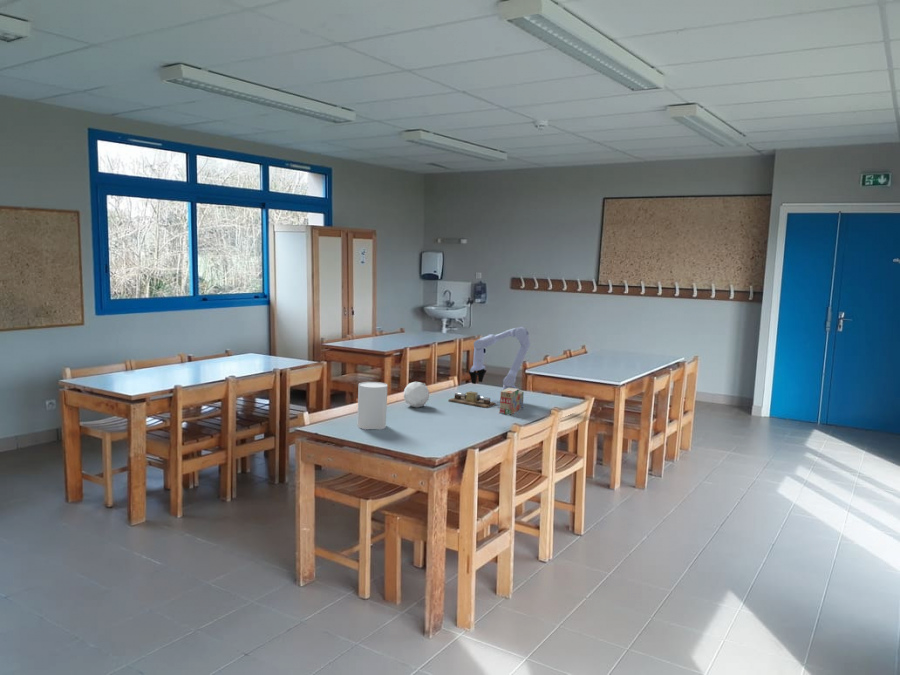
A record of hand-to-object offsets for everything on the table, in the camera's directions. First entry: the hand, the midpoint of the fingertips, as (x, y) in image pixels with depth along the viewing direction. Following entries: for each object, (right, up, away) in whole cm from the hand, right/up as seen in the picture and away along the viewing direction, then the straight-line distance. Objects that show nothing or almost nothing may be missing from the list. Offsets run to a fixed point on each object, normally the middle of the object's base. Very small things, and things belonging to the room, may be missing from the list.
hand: (477, 382), depth 390 cm
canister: (-53, -16, -73) cm, 92 cm away
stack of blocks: (+18, -14, -25) cm, 33 cm away
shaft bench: (-3, -11, -11) cm, 16 cm away
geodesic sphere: (-34, -11, -27) cm, 45 cm away
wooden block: (-4, -10, -11) cm, 15 cm away
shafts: (-3, -9, -11) cm, 15 cm away
